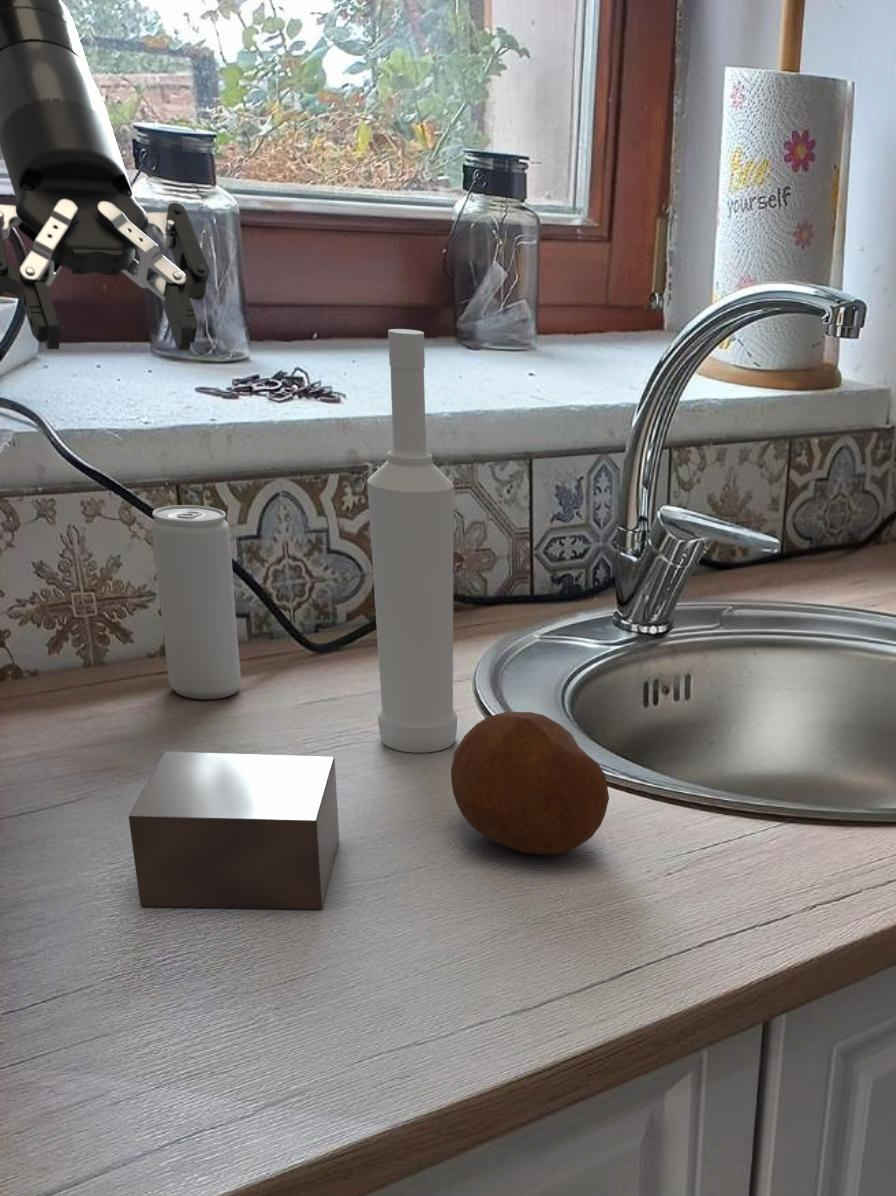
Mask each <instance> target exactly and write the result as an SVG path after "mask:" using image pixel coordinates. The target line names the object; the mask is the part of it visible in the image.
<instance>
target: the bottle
mask: <svg viewBox="0 0 896 1196" xmlns="http://www.w3.org/2000/svg"><path fill="white" fill-rule="evenodd" d="M387 333H388V334H387V335H388V358H389V359H388V361H389V362H388V363H389V367H390V393H391V395H390V397H391V423H392V424H391V425H392V426H391V427H392V429H391V430H392V447H391V449H390V450H389V451H388V452H387V460H386V461H385V462H384V463H383V464H382V465H381V466H380V467H378V469H377V470H376V471H374V472H373V473H372V475H370V477H369V478H367V491H368V492H367V493H368V494H367V495H368V496H367V497H368V506H369V507H368V510H369V512H368V513H369V525H370V526H369V528H370V541H371V542H370V543H371V558H372V559H371V560H372V572H373V573H372V574H373V575H372V576H373V591H374V606H375V608H374V609H375V624H376V638H377V655H378V669H379V684H380V685H379V687H380V702H381V708H379V710H378V711H377V723H378V729H379V730H378V731H379V737H380V739H381V742H382V744H384V745H385V746H387V747H388V748H389V749H393V750H396V751H398V752H405V753H406V752H407V753H412V754H413V753H414V754H415V753H416V754H417V753H419V754H420V753H423V754H424V753H433V752H440V751H443V750H445V749H448V748H450V747H451V746H453V744H454V743H455V741H456V739H457V738H456V737H457V731H458V715H457V712H456V711H455V709H454V690H453V689H454V488H455V487H454V484H453V482H452V481H451V479H449V478H448V477H447V476H446V475H445V474H444V473H443V472H442V471H441V469H439V468H438V467H437V466H436V464H434V463H433V454H431V453H430V452H429V451H428V450H427V436H426V435H427V434H426V433H427V432H426V430H427V429H426V397H425V367H426V363H425V362H426V361H425V360H426V359H425V358H426V357H425V332H424V331H421V330H416V329H406V328H391V329H388V331H387Z"/></svg>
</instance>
